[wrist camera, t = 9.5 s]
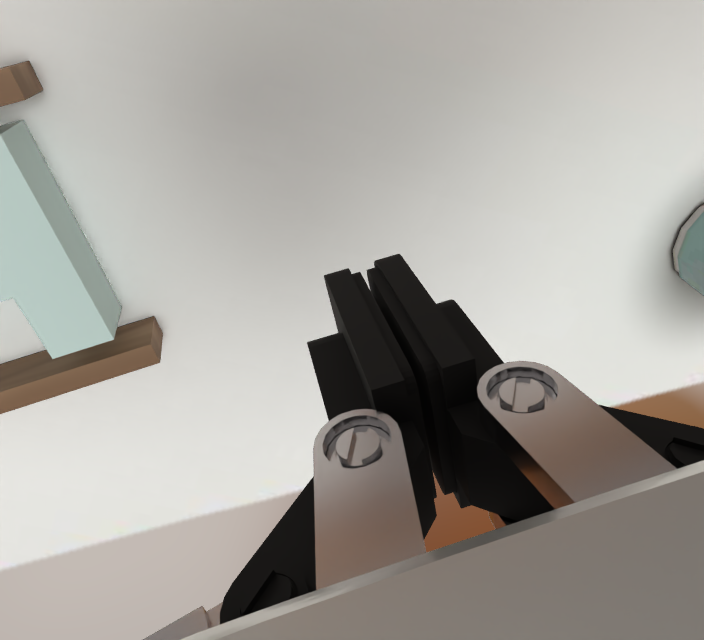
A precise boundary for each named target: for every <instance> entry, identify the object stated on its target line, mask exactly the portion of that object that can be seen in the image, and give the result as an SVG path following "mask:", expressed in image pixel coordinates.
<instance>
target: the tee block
mask: <svg viewBox="0 0 704 640" xmlns="http://www.w3.org/2000/svg"><path fill="white" fill-rule="evenodd" d="M12 298H13V299H14V300H15V302H16V303H17V305H18V306H19V308H20V309H21V311H22V313H23V314H24V316H25V317H26V319H27V320H28V322H29V323H30V325H31V326H32V328H33V330H34V331H35V333H36V334H37V336H38V337H39V339H40V340H41V342H42V344H43V345H44V347H45V348H46V350H47V351H48V353H49V354H50V356H51V357H52V359H54V358H58V357H61V356H64V355H67V354H70V353H73V352H77V351H80V350H83V349H86V348H89V347H92V346H95V345H99V344H102V343H105V342H108V341H111V340H114V337H115V333H116V329H117V325H118V321H119V317H120V312H121V308H122V306H121V304H120V302H119V300H118V299H117V297H116V295H115V293H114V291H113V289H112V287H111V285H110V283H109V281H108V280H107V278H106V276H105V274H104V272H103V270H102V268H101V266H100V264H99V262H98V260H97V259H96V257H95V255H94V253H93V251H92V249H91V247H90V245H89V243H88V241H87V240H86V238H85V236H84V234H83V232H82V230H81V228H80V226H79V224H78V222H77V221H76V219H75V217H74V215H73V213H72V211H71V209H70V207H69V205H68V203H67V201H66V200H65V198H64V196H63V194H62V192H61V190H60V188H59V186H58V184H57V182H56V181H55V179H54V177H53V175H52V173H51V171H50V169H49V167H48V165H47V163H46V161H45V160H44V158H43V156H42V154H41V152H40V150H39V148H38V146H37V144H36V142H35V141H34V139H33V137H32V135H31V133H30V131H29V129H28V127H27V125H26V123H25V122H24V120H20V121H17V122H13V123H9V124H6V125H2V126H0V302H2V301H5V300H9V299H12Z"/></svg>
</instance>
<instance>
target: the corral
mask: <svg viewBox="0 0 704 640" xmlns="http://www.w3.org/2000/svg"><path fill="white" fill-rule="evenodd" d="M41 91H43V88H42V86H41V84H40V82H39V80H38V78H37V76H36V74H35V72H34V70H33V68H32V66H31V64H30V62H29V61H26V62H22V63H19V64H15V65H11V66H7V67H3V68H0V106H4V105H8V104H12V103H15V102H19V101H23V100H26V99H28V98H30V97H32V96H34V95H35V94H37V93H39V92H41ZM162 337H163V333H162V331H161V329H160V327H159V325H158V323H157V321H156V319H155V317H154V316H153V317H150V318H147V319H144V320H140V321H137V322H134V323H131V324H128V325H124V326H121V327H118V328H117V329H116V333H115V337H114V340H111V341H108V342H105V343H102V344H99V345H95V346H92V347H89V348H86V349H83V350H80V351H77V352H73V353H70V354H67V355H64V356H61V357H58V358H54V359H52V357H51V356H50V354H49V353H48V351H47V350H45V351H42V352H38V353H35V354H32V355H29V356H26V357H22V358H19V359H16V360H13V361H10V362H7V363H3V364H0V414H2V413H5V412H8V411H11V410H15V409H18V408H21V407H24V406H27V405H30V404H33V403H36V402H39V401H42V400H46V399H49V398H52V397H55V396H58V395H61V394H64V393H67V392H70V391H73V390H77V389H80V388H83V387H86V386H89V385H92V384H95V383H98V382H101V381H104V380H107V379H111V378H114V377H117V376H120V375H123V374H126V373H129V372H132V371H135V370H138V369H142V368H145V367H148V366H151V365H154V364H157V363H160V359H161V348H162Z"/></svg>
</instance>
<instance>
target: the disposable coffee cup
mask: <svg viewBox="0 0 704 640" xmlns="http://www.w3.org/2000/svg"><path fill="white" fill-rule="evenodd" d="M673 258H674V266H675V270H676V271H678V272H679V275H680V277H681V278H682V279H683V280H684V281H685V282H687V283H688V284H689V285H690V286H691V287H693V288H694V289H695V290H697V291H698V292H699V293H700V294H702V295H703V296H704V205H702V206H700V207H699V208H698V209H697V210H696V211H695V212H694V213H693V215H692V216H691V217H690V218H689V219H688V221H687V222H686V223H685V224H684V225H683V227H682V228H681V230H680V232H679V235H678V238H677V241H676V243H675V246H674V249H673Z"/></svg>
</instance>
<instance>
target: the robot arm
mask: <svg viewBox="0 0 704 640" xmlns="http://www.w3.org/2000/svg"><path fill="white" fill-rule="evenodd" d="M374 266H375V268H372V269H368V270H367V276H368V281H369V286H370V290H371V291H370V290H369V288H368V286H367V284H366V282H365V280H364V278H363V277H362V275H361V273H360V272H358V273H354V274H351V272H350V270H349V268H348V269H344V270H341V271H337V272H334V273H330V274H327V275H324V278H325V283H326V287H327V291H328V294H329V298H330V302H331V306H332V310H333V314H334V317H335V321H336V325H337V329H338V333H337V334H333V335H330V336H327V337H323V338H320V339H317V340H313V341H310V342H307V344H308V348H309V351H310V355H311V358H312V362H313V366H314V369H315V373H316V376H317V380H318V384H319V387H320V391H321V394H322V398H323V401H324V405H325V409H326V412H327V416H328V419H329V422H328V423H326V424H325V425H324V426H323V427H322V428H321V429H320V431H319V433H318V435H317V436H316V438H315V442H314V448H313V463H314V476H313V478H312V479H311V480H310V482H309V483H308V484H307V486H306V487H305V488H304V490H303V491H302V492H301V494H300V495H299V496H298V498H297V499H296V500H295V502H294V503H293V504H292V505H291V507H290V508H289V509H288V511H287V512H286V513H285V515H284V516H283V517H282V519H281V520H280V521H279V523H278V524H277V525H276V527H275V528H274V529H273V531H272V532H271V533H270V534H269V536H268V537H267V538H266V540H265V541H264V542H263V544H262V545H261V546H260V547H259V549H258V550H257V551H256V553H255V554H254V555H253V557H252V558H251V559H250V561H249V562H248V563H247V565H246V566H245V568H244V569H243V570H242V571H241V573H240V574H239V575H238V576H237V578H236V579H235V580H234V582H233V583H232V585H231V587H230V588H229V590H228V592H227V593H226V595H225V597H224V600H223V602H222V603H220V604H219V605H217V606H215V607H214V608H212V609H210V610H208V611H207V612H206V610H205V609H204V607H203V606H201V607H199V608H197V609H196V610H194V611H192V612H190V613H189V614H187V615H185V616H183V617H182V618H180V619H178V620H177V621H175V622H173V623H171V624H169V625H168V626H166V627H164V628H163V629H161V630H159V631H157V632H155V633H154V634H152V635H150V636H148V637H147V638H145V639H143V640H704V429H703V428H699V427H695V426H690V425H686V424H681V423H677V422H672V421H668V420H663V419H659V418H655V417H650V416H646V415H641V414H637V413H633V412H628V411H624V410H619V409H615V408H611V407H606V406H602V405H598V404H596V403H595V402H594V401H593V400H592V399H590V398H589V397H588V396H587V395H585V394H584V393H583V392H582V391H580V390H579V389H578V388H577V387H575V386H574V385H573V384H572V383H570V382H569V381H568V380H567V379H566V378H564V377H563V376H562V375H561V374H559V373H558V372H556V371H555V370H553V369H551V368H550V367H548V366H545V365H542V364H539V363H536V362H528V361H515V362H507V363H504V362H503V361H502V360H501V359H500V357H499V356H498V355H497V354H496V352H495V351H494V350H493V349H492V347H491V346H490V345H489V343H488V342H487V341H486V340H485V338H484V337H483V336H482V335H481V333H480V332H479V331H478V329H477V328H476V327H475V326H474V324H473V323H472V322H471V321H470V319H469V318H468V317H467V315H466V314H465V313H464V312H463V310H462V309H461V308H460V307H459V305H458V304H457V303H456V302H455V301H454V300H448V301H444V302H441V303H438V304H436V303H435V302H434V301H433V299H432V298H431V296H430V295H429V294H428V292H427V291H426V290H425V288H424V287H423V285H422V284H421V283H420V281H419V280H418V278H417V277H416V276H415V274H414V273H413V271H412V270H411V269H410V267H409V266H408V264H407V263H406V262H405V260H404V259H403V258H402V256H401V255H400V254H397V255H393V256H390V257H386V258H383V259H379V260H376V261H375V262H374ZM432 470H433V471H432ZM433 473H434V475H435V476H436V479H437V481H438V483H439V485H440V488H441V490H442V492H443V493H444V494H445V495H446V494H449V493H452V492H453V493H454V494H455V497H456V499H457V501H458V503H459V505H460V507H461V508H464V507H467V506H470V505H473V506H476V507H479V508H482V509H484V510H487V511H489V518H490V520H491V522H492V524H493V526H494V527H495V528H496V529H495V530H492V531H490V532H486V533H484V534H481V535H478V536H475V537H472V538H469V539H466V540H463V541H460V542H457V543H454V544H451V545H448V546H445V547H442V548H439V549H436V550H433V551H430V552H427V553H426V549H425V544H424V539H425V537H426V535H427V533H428V531H429V529H430V527H431V525H432V523H433V522H434V520H435V518H436V516H437V515H436V509H435V504H434V498H436V497H437V495H436V489H435V483H434V477H433Z"/></svg>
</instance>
